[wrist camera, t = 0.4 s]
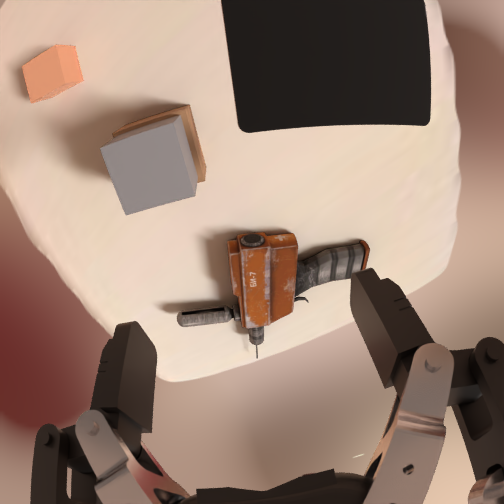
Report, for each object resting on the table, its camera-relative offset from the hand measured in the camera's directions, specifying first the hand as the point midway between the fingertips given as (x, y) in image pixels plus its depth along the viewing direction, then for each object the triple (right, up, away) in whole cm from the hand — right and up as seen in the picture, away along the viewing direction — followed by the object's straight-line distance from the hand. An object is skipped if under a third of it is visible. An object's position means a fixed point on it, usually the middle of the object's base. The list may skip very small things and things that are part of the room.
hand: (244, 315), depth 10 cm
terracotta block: (-22, +24, +14) cm, 35 cm away
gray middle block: (-9, +12, +18) cm, 23 cm away
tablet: (+11, +27, +17) cm, 33 cm away
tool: (+3, -5, +38) cm, 39 cm away
